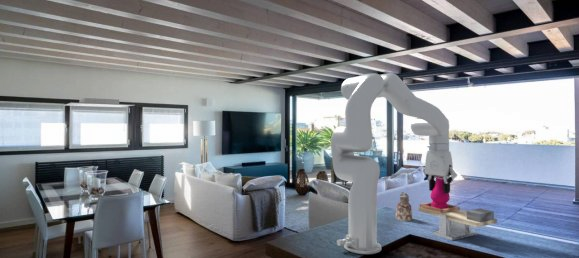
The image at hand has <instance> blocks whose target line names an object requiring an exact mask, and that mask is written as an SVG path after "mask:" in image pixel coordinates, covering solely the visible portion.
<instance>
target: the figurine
mask: <svg viewBox="0 0 579 258" xmlns="http://www.w3.org/2000/svg"><path fill="white" fill-rule="evenodd" d="M409 199H410V198H409V195H408V194H407V192H404V191H402V192H401V193H400V195H399V202H398V203H397V204H396V209H395V211H396V212H395V219H396V220H398V221H401V222H411V221H413V212H412V205H411V203H410V202H409V201H410V200H409Z"/></svg>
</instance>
